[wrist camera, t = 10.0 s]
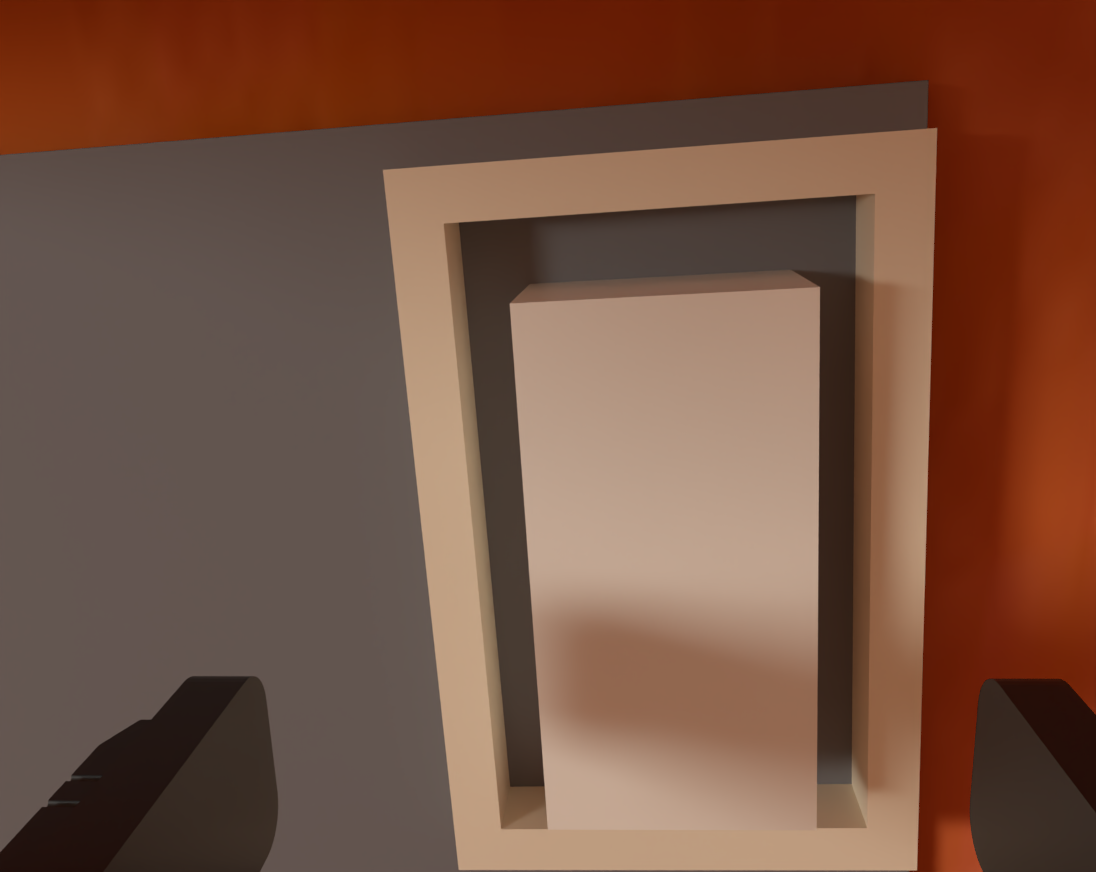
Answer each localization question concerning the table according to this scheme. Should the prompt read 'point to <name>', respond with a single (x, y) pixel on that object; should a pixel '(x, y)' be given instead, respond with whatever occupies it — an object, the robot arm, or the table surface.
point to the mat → (429, 453)
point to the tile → (673, 547)
